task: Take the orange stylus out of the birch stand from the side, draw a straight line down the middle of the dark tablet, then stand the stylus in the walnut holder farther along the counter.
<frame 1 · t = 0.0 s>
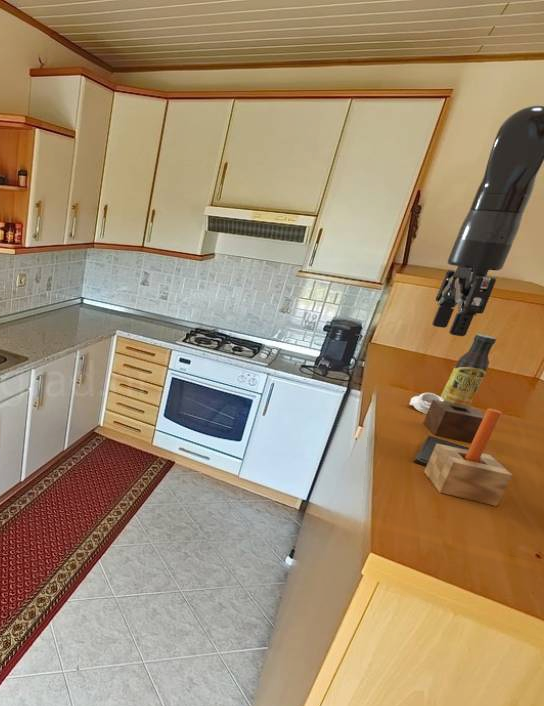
hand: (447, 330, 90), 25 cm above the worktop, tool pointing down, fingers open, 8 cm apart
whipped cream: (426, 411, 124), on the worktop
stand: (458, 488, 86), on the worktop
tablet: (454, 460, 97), on the worktop
holder: (449, 433, 111), on the worktop
sauce bottle: (452, 408, 129), on the worktop
stylus: (475, 450, 83), in the stand
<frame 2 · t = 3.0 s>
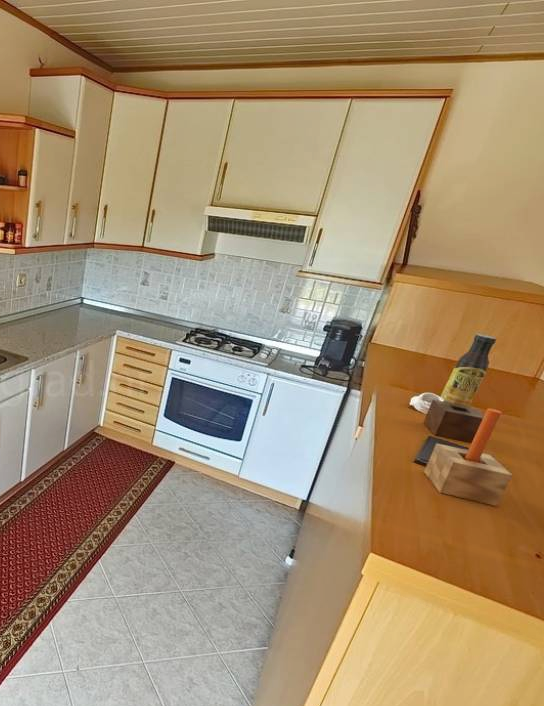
nothing on the worktop moved.
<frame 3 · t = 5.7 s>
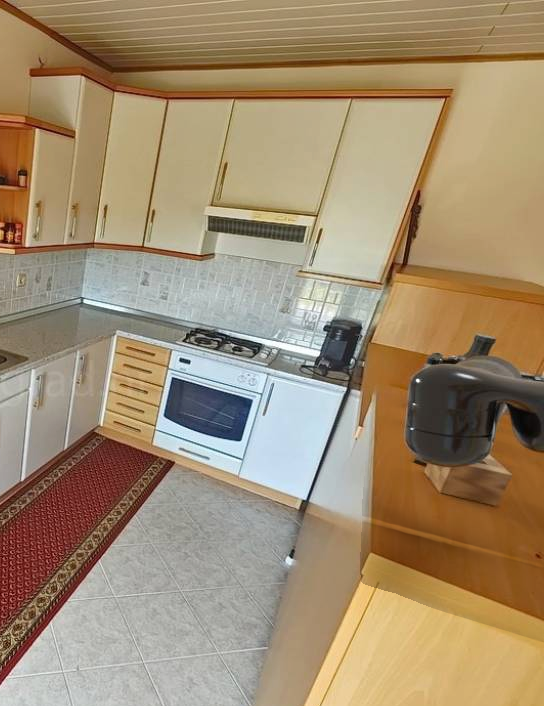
hand: (496, 370, 71), 23 cm above the worktop, tool horizontal, fingers open, 8 cm apart
nothing on the worktop moved.
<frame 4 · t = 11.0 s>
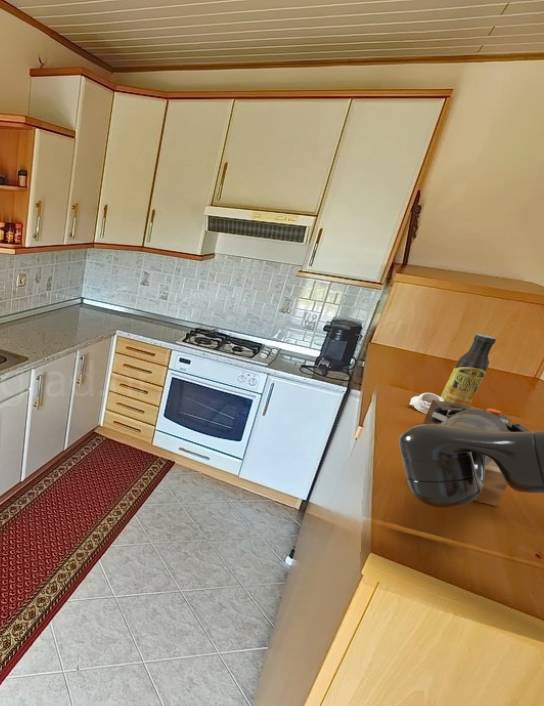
hand: (493, 418, 83), 13 cm above the worktop, tool horizontal, fingers closed on stylus, 2 cm apart
stylus: (475, 450, 83), in the stand, touching gripper
everything else where it was.
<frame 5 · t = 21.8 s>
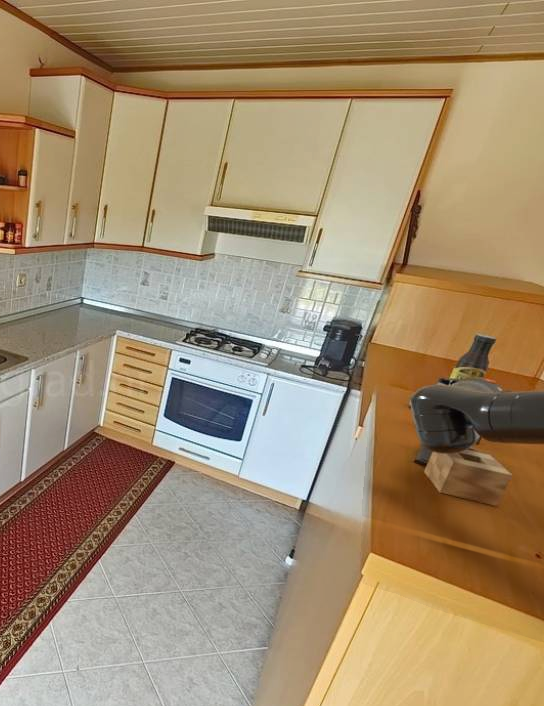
hand: (489, 388, 96), 14 cm above the worktop, tool horizontal, fingers closed on stylus, 2 cm apart
stylus: (473, 416, 96), point 9 cm above the worktop, touching gripper
everything else where it was.
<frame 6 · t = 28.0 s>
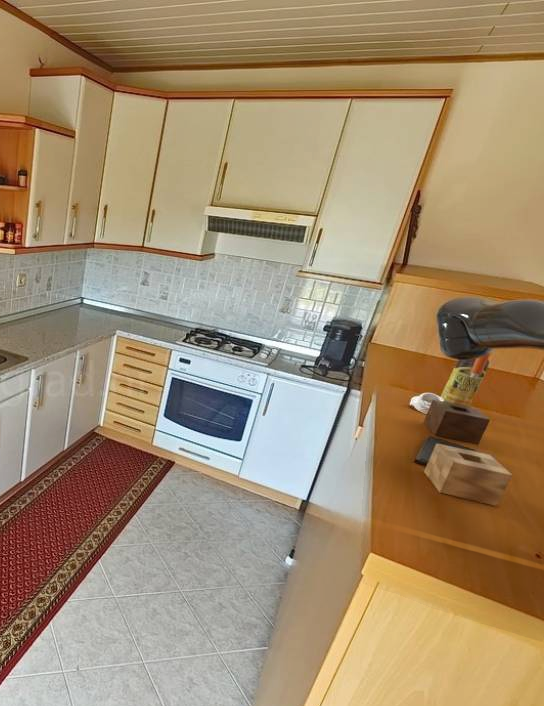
hand: (503, 318, 103), 27 cm above the worktop, tool horizontal, fingers closed on stylus, 2 cm apart
stylus: (488, 344, 103), point 21 cm above the worktop, touching gripper
everything else where it was.
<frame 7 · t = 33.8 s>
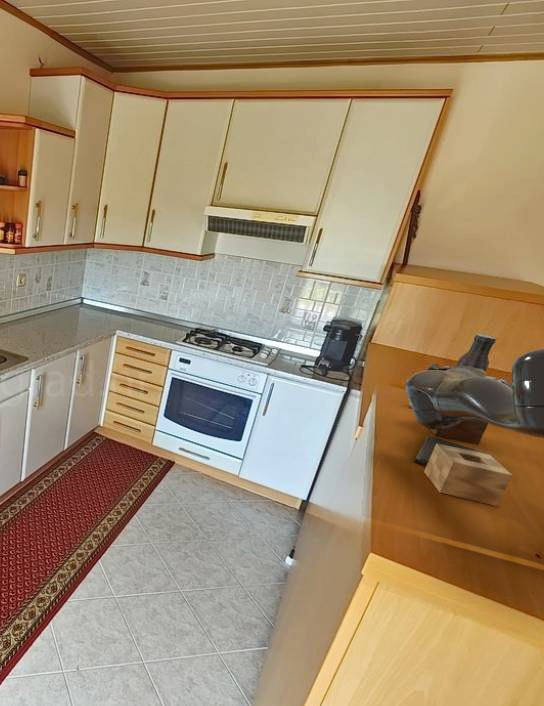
hand: (476, 376, 108), 14 cm above the worktop, tool horizontal, fingers open, 8 cm apart
stylus: (461, 403, 108), in the holder
everything else where it was.
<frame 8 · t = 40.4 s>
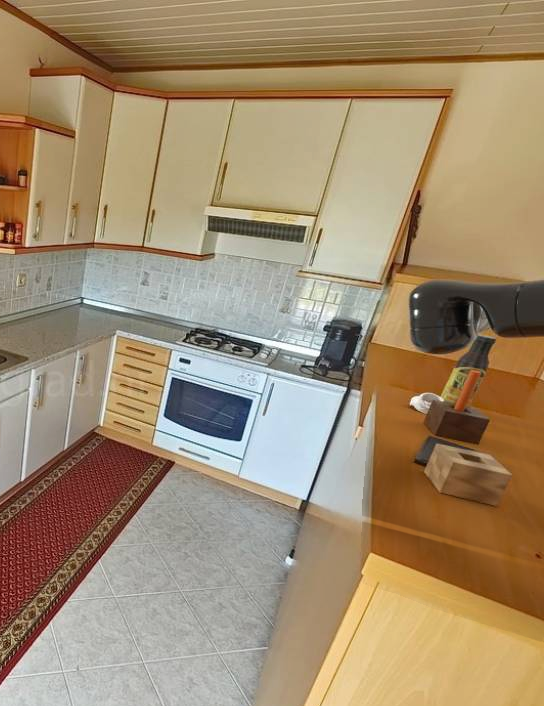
hand: (489, 307, 89), 30 cm above the worktop, tool horizontal, fingers open, 8 cm apart
nothing on the worktop moved.
at the end: stylus 0.5 cm off-centre on the holder, point 7.5 cm above the holder's base; stylus tilted 0°; the gripper is holding nothing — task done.
